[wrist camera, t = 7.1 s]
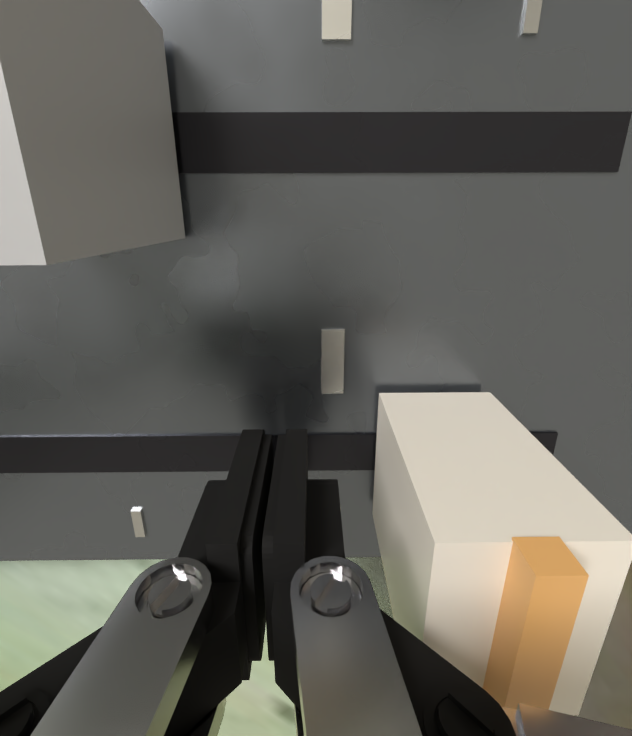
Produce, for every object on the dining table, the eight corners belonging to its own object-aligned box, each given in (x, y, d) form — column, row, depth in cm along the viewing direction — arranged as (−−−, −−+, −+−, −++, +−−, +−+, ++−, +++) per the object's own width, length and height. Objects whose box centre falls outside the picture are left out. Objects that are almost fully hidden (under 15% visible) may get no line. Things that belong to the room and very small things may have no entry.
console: (595, 513, 15) (636, 557, 13) (-51, 518, 15) (-104, 564, 13) (753, -34, 10) (863, -95, 8) (-266, -35, 10) (-415, -98, 8)
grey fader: (185, 240, 10) (8, 277, 4) (57, 241, 10) (-302, 280, 4) (162, 26, 8) (-167, -387, 3) (11, 26, 8) (-654, -390, 3)
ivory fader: (470, 514, 13) (600, 760, 7) (371, 514, 13) (421, 764, 7) (490, 390, 11) (676, 575, 5) (378, 391, 11) (448, 576, 5)
